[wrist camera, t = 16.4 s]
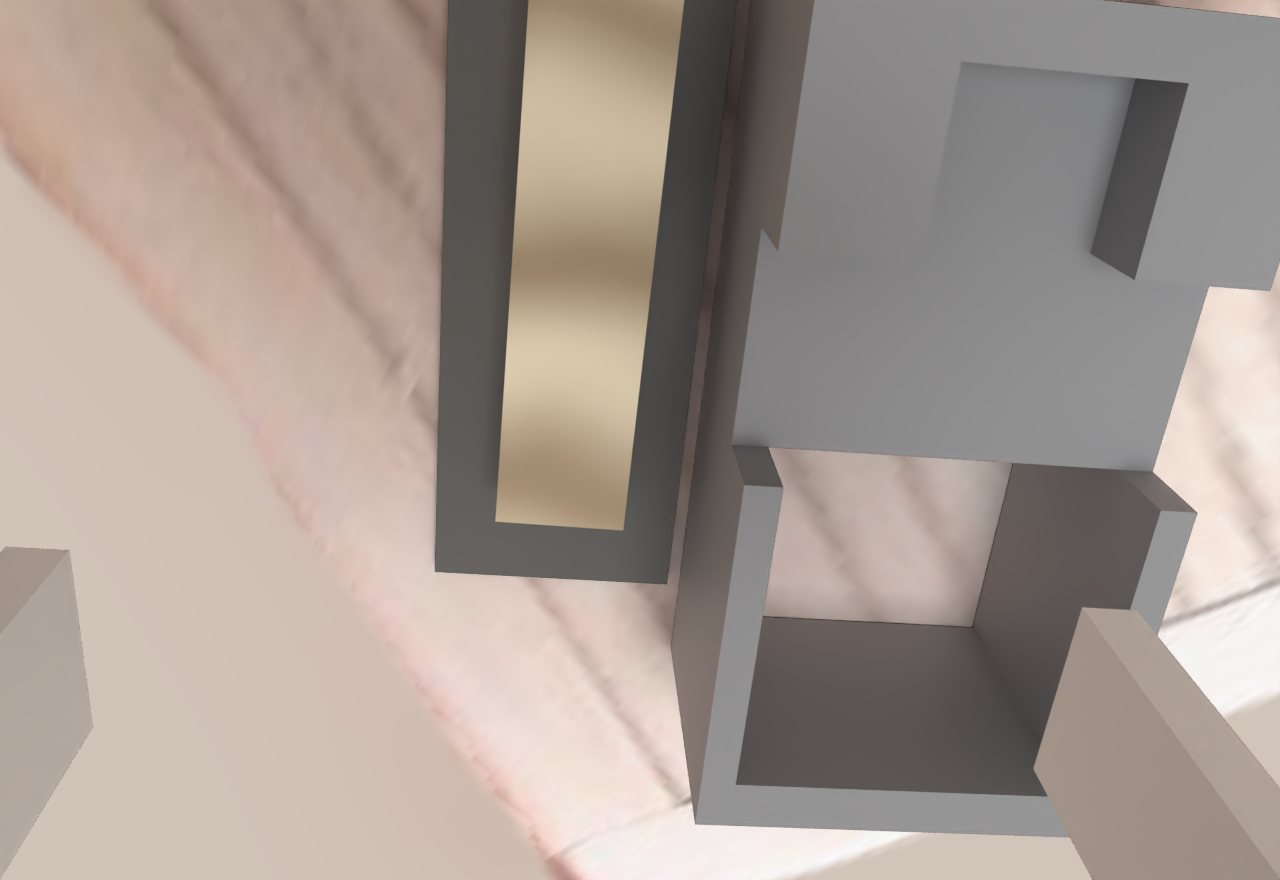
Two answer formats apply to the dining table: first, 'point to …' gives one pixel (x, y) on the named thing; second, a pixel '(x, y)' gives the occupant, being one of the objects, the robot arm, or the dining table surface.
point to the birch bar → (583, 254)
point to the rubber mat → (480, 292)
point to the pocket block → (957, 370)
